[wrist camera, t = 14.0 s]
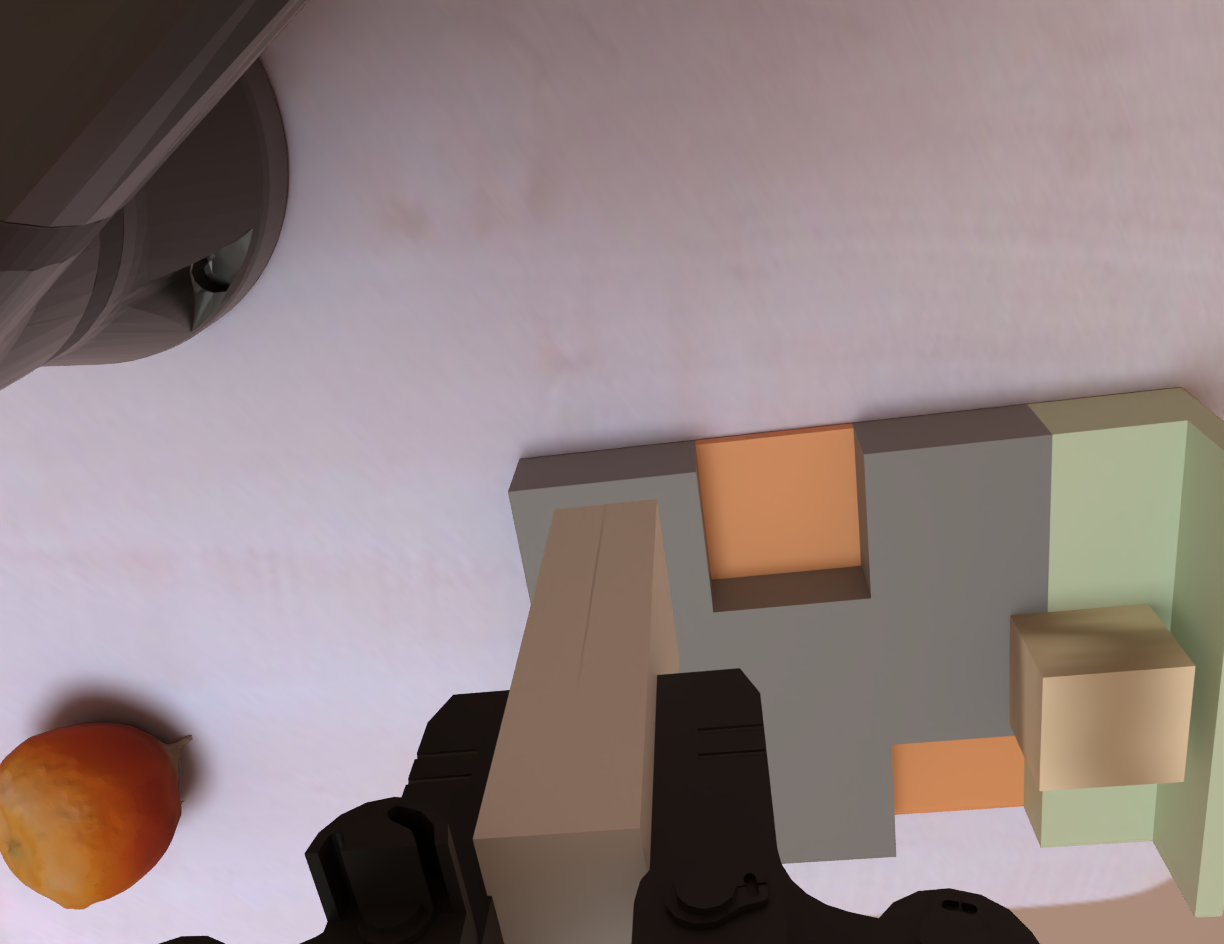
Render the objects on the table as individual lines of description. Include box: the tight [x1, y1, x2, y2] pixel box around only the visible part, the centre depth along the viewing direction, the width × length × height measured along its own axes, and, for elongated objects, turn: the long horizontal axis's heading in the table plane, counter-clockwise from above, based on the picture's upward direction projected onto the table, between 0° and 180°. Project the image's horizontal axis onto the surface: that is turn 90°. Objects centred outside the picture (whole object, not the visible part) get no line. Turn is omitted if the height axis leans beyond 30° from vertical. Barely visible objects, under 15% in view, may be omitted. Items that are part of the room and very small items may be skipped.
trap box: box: [508, 387, 1224, 917], centre depth 41 cm, size 25×19×7 cm
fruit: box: [0, 722, 192, 909], centre depth 47 cm, size 8×8×8 cm
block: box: [1009, 604, 1195, 791], centre depth 39 cm, size 5×5×4 cm
